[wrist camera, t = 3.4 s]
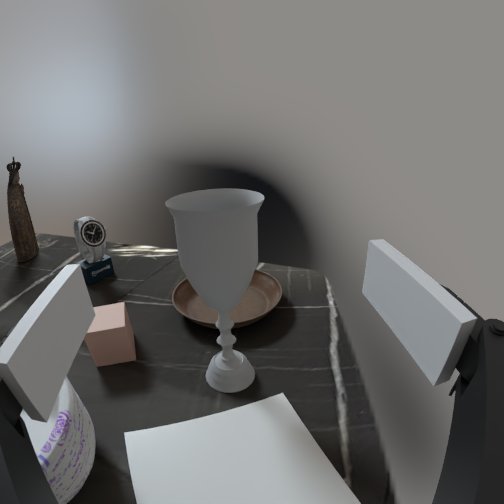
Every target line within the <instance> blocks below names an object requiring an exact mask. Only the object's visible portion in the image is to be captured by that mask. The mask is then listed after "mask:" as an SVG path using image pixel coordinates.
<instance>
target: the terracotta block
mask: <svg viewBox="0 0 504 504" xmlns="http://www.w3.org/2000/svg"><path fill="white" fill-rule="evenodd" d="M93 309H94V312H95V315H96V316H95V317H94V319H93V321H92V323H91V325H90V327H89V329H88V331H87V333H86V335H85V337H84V340H85V342H86V344H87V347H88V349H89V351H90V354H91V356H92V358H93V360H94V362H95V364H96V367H99V366H105V365H111V364H117V363H123V362H128V361H134V360H136V352H135V342H134V333H133V330H132V327H131V323H130V320H129V317H128V313H127V310H126V306H125V303H124V302H121V303H116V304H110V305H105V306H99V307H94V308H93Z"/></svg>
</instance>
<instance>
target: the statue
mask: <svg viewBox="0 0 504 504" xmlns="http://www.w3.org/2000/svg"><path fill="white" fill-rule="evenodd" d="M15 164H16V168H15ZM12 165H13V169H12ZM20 166H21V164H20V163H19V162H15V161H14V157H13V162H12V163H10V164H8V165H7V170H8V171H9V172H10V173H9V174H10V176H9V183H8V191H7V196H8V213H9V223H10V229H11V234H12V240H13V244H14V248H15V252H16V256H17V259H18V261H19V262H26V261H28V260H30V259H32V258H33V257H34V256H35V255H36V254H37V253H38V250H39V248H38V244H37V240H36V236H35V232H34V228H33V225H32V221H31V217H30V214H29V211H28V207H27V204H26V201H25V197H24V187H23V185H22V184H21V186H20V184H19V183H17V182H19V179H20V178H19V173H18V170H19V169H20ZM10 169H11V170H10Z"/></svg>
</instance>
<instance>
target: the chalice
mask: <svg viewBox="0 0 504 504" xmlns="http://www.w3.org/2000/svg"><path fill="white" fill-rule="evenodd" d="M263 200H264V196H263V195H262V194H260V193H258V192H254V191H250V190H243V189H209V190H201V191H194V192H188V193H185V194H181V195H177V196H175V197H173V198H170V199H169V200H168V201H166V202H165V204H166V207H167V208H168V210H169V211H170V213H171V214H172V216H173V217H174V221H175V230H176V238H177V245H178V253H179V260H180V265H181V268H182V269H183V271H184V273H185V275H186V277H187V279H188V280H189V282H190V284H191V286H192V287H193V288H194V290H195V291H196V292H197V294H198V295H199V296H200V298H201V299H202V300H203V301H204V303H205V304H206V305H207V306H208V307H209V308H210V309H213V310H217V311H218V321H217V322H216V327H217V328H219V330H220V332H221V333H220V336H219V337H218V338H217V343H218V344H220V345H221V346H222V349H223V350H222V351H220V352H219V353H217V354H216V355H215V356H214V357H213V358H212V359H211V363H210V364H209V368H208V370H207V372H206V380H207V382H208V384H209V385H210V386H211V387H212V388H214V389H216V390H218V391H221V392H228V393H233V392H238V391H241V390H243V389H245V388H247V387H248V386H249V385H250V384H251V383H252V382H253V380H254V378H255V371H254V369H253V367H252V366H251V365H250V363H249V361H248V360H247V358H246V357H245V356H244V355H243V354H242V353H240V352H238V351H236V350H233V349H232V346H233V344H234V343H235V342H236V337H235V336H233V335H232V334H231V328H232V327H233V325H234V322H233V321H232V320H231V318H230V315H229V310H230V309H233V308H235V307H236V306H237V305H238V304H239V302H240V301H241V299H242V297H243V295H244V293H245V291H246V289H247V287H248V286H249V284H250V282H251V279H252V277H253V274H254V271H255V268H256V265H257V262H258V239H257V238H258V236H257V212H258V210H259V208H260V206H261V204H262V202H263Z"/></svg>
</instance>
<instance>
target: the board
mask: <svg viewBox="0 0 504 504" xmlns="http://www.w3.org/2000/svg"><path fill="white" fill-rule="evenodd" d="M124 435H125V442H126V449H127V455H128V461H129V467H130V472H131V478H132V483H133V488H134V492H135V497H136V501H137V504H361V503H360V502H359V500H358V499H357V498H356V496H355V495H354V494H353V492H352V491H351V490H350V488H349V487H348V486H347V484H346V483H345V482H344V480H343V479H342V478H341V476H340V475H339V474H338V472H337V471H336V469H335V468H334V467H333V465H332V464H331V462H330V461H329V460H328V458H327V457H326V455H325V454H324V453H323V451H322V450H321V448H320V447H319V446H318V444H317V443H316V441H315V440H314V438H313V437H312V435H311V434H310V433H309V431H308V430H307V428H306V427H305V425H304V424H303V422H302V421H301V419H300V418H299V416H298V415H297V413H296V412H295V410H294V409H293V407H292V406H291V404H290V403H289V401H288V400H287V398H286V397H285V395H284V394H283V393H281V394H278V395H275V396H272V397H270V398H267V399H264V400H261V401H257V402H254V403H251V404H248V405H245V406H241V407H238V408H235V409H231V410H228V411H224V412H221V413H217V414H213V415H209V416H205V417H201V418H197V419H193V420H189V421H185V422H180V423H176V424H171V425H166V426H161V427H156V428H150V429H145V430H139V431H132V432H126V433H124Z"/></svg>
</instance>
